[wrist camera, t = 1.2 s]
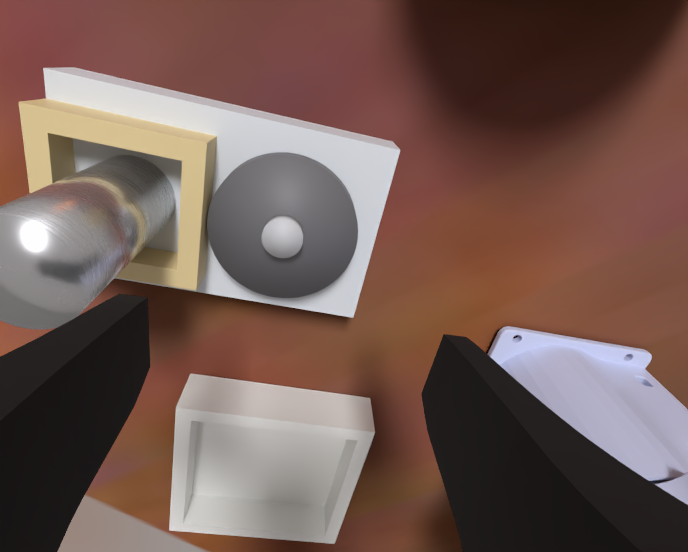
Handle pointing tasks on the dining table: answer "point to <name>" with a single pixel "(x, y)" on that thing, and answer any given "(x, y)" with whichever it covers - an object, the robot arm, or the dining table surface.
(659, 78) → the dining table surface
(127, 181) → the lock pin
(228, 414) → the tray
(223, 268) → the white flat block
